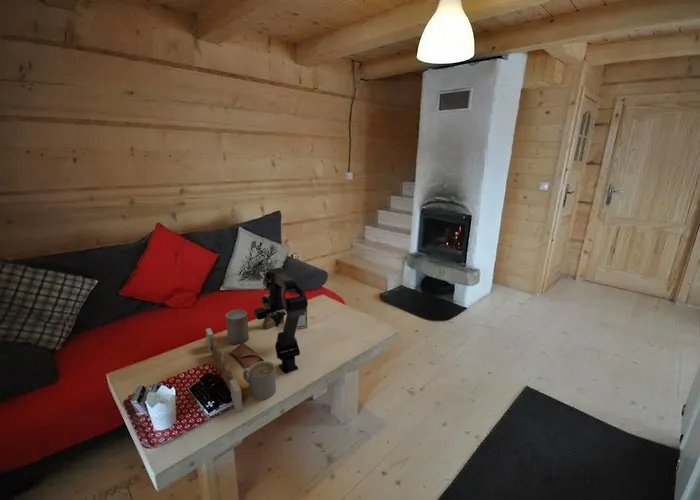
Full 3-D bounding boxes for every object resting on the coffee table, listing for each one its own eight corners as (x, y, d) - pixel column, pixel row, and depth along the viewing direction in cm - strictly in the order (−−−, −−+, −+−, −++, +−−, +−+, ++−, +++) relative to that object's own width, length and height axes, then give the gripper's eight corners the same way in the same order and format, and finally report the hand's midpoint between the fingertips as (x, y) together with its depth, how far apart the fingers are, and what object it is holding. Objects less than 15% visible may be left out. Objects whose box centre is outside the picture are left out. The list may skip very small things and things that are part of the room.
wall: (242, 410, 123) (240, 388, 121) (236, 413, 122) (235, 390, 120) (211, 345, 162) (210, 327, 160) (207, 346, 161) (205, 328, 159)
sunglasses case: (226, 353, 157) (232, 339, 157) (239, 354, 162) (245, 341, 162) (246, 371, 144) (253, 356, 145) (259, 372, 150) (266, 358, 150)
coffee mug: (281, 388, 135) (280, 366, 132) (262, 403, 127) (261, 380, 124) (257, 376, 142) (256, 355, 139) (237, 389, 134) (236, 367, 131)
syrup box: (296, 329, 179) (296, 303, 175) (295, 323, 184) (294, 298, 180) (307, 328, 180) (307, 302, 176) (305, 322, 186) (305, 297, 182)
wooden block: (284, 322, 185) (283, 291, 180) (266, 329, 178) (265, 297, 172) (280, 320, 187) (279, 289, 182) (263, 326, 180) (261, 295, 175)
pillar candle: (247, 332, 174) (245, 305, 170) (249, 342, 165) (247, 314, 161) (227, 336, 171) (224, 308, 166) (228, 346, 162) (225, 317, 158)
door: (234, 395, 130) (232, 375, 127) (228, 397, 129) (226, 377, 126) (214, 353, 156) (213, 336, 153) (209, 354, 155) (208, 337, 152)
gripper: (288, 285, 164) (288, 314, 168) (249, 292, 154) (250, 324, 159) (298, 293, 155) (298, 324, 159) (257, 302, 145) (258, 335, 150)
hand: (276, 326), depth 157 cm, fingers closed
